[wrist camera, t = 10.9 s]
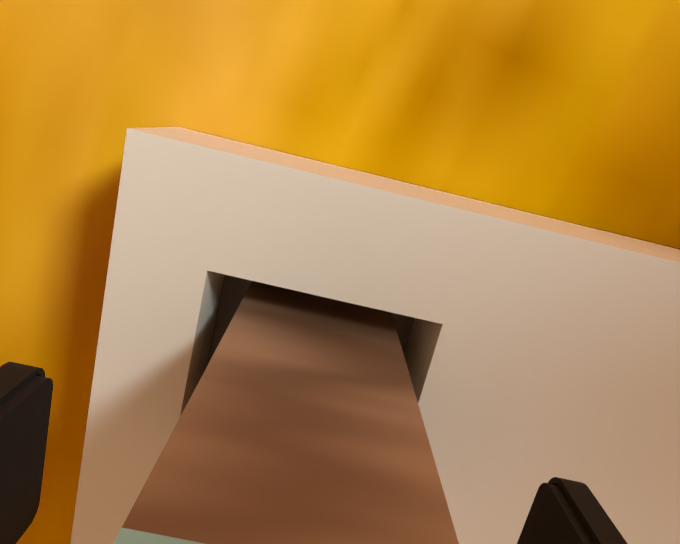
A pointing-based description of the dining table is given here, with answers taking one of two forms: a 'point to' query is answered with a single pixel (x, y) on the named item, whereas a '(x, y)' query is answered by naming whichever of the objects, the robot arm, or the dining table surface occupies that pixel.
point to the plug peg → (297, 437)
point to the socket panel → (411, 324)
